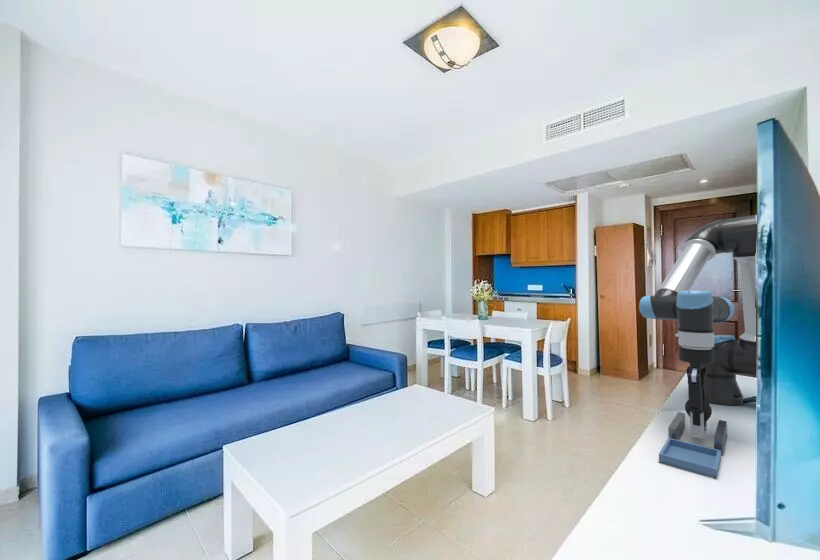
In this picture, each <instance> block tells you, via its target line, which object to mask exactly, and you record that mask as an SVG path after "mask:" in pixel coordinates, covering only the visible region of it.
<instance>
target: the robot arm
mask: <svg viewBox="0 0 820 560" xmlns="http://www.w3.org/2000/svg"><path fill="white" fill-rule="evenodd" d="M756 234H757V214H754V215H753V214H752V215H746V216H740V217H735V218H734V217H733V218H732V217H731V218H726V219H719V220H715V221H713V222H710V223H707V224H705V225H704V226H702V227H700V228H699V229H698V230H696V231H694V232H693V233H692V234H691V235H690V236H689V237H688V238H687V239H686V240H685V241H684V242H683V245H682V246H681V253H680V255H679V256H678V258H677V260H676V261H675V263H674V264H673V266H672V268H671V269H670V271H668V273H667V275H666V277H665V278H664V280H663V282H662V283H661V284H660V286H659V287H658V288H657V290H656V291H655V293H654V295H652V294H651V295H644V296H643V297H641V299H640V301H639V303H638V310H639V313H640V315H641V316H642V317H643V318H646V319H652V320H656V321H658V320H664V321H677V333H676V334H675V337H676V338H678V345H679V347H678V359H679V360H680V361H681V362H683V363H688V364H689V366H687V368H686V377H687V385H688V389H687V390H688V400H689V408H688V409H686V410H687V411H689V412H690V417H689V420H690V423H689V424H690V436H691V437H694V438H699V439H703V440H704V439H705V434H704V413H703V410H702V399H703V400H705V401H706V402H707V403H708V404H709V405H710V404H716V405H722V406H723V405H724V406H741V405H744V403H743V400H745V399H744V395H743V393H742V390H741V388H740V386H739V383H738V382H737V374H738V375H743V376H749V377H754V378H757V377H756V308H755V253H756ZM724 253H726V254H728V253H729V254H731V253H732V259H733V260H736V261H737V262H738V263H739V273H740V287H741V298H742V308H743V309H742V310H743V312H742V313H743V321H744V322H743V323H744V333H742V334H741V335H739V339H738V340H737V339H736V337H735V335H732V334H731V335H730V334H729V335H728V334H717V335H715V332H714V324H716V323H717V324H720V323H723V322H726V321H728V320H730V319H731V318H732V317H733V316H734V314H735V310H736V309H735V305H734V304H733V302H732V301H731V300H729V298H727V297H724V296H719V295H713V293H712V292H711V291H710V290H703V289H702V290H694V289H693V290H691V289H692V287H693V285H694V284H695V282H696V280H697V279H698V277H699V275H700V274H701V272H702V271H703V268H704V267H705V265H706V264H707V263H708V261H711V260H712V259H714V257H715V256H716V255H720V254H724ZM686 410H685V411H686ZM707 422H708V421H707ZM707 422H706V426H705V432H707V431H708V424H707Z"/></svg>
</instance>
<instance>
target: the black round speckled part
mask: <svg viewBox="0 0 820 560" xmlns="http://www.w3.org/2000/svg"><path fill="white" fill-rule="evenodd" d="M708 403H709V402H706V401H705V400H703V399H702V410H703V413H704V435H706V431H705V426H706V422H708V421H709V419H710V418H711V416H712V413H713V411H712V407H711V406H710V403H709V404H708ZM688 408H689V399H687V400H686V402H685V403H684V409H685V412H686V414H687V415H688V417H689V418H690V412H689V411H687V410H686V409H688Z"/></svg>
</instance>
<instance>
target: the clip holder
mask: <svg viewBox="0 0 820 560" xmlns="http://www.w3.org/2000/svg"><path fill="white" fill-rule="evenodd" d="M685 429H686V413H685V412H681V411H677V413H676V414H675V416H674V418H673V419H672V421H671V422H670V424H669V425H668V429H667V430H668V431H667V432H668V438H672V439H676V440H680V438H681V436H682V435H683V432H684V431H685ZM714 432H715V433H714V436H713V447H714V448H713V449H717V450H721V457H724V454H725V449H726V444H727V441H728V440H727V439H728V422H727V421H726V420H722V419H719V420H718V422H717V426H716V429H715V431H714Z"/></svg>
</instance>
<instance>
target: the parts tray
mask: <svg viewBox="0 0 820 560" xmlns="http://www.w3.org/2000/svg"><path fill="white" fill-rule="evenodd" d="M721 462H722V456H721V450H717V449H714V448H712V447H708V446H705V445H699V444H695V443H692V442H689V441H688V442H687V441H683V440H680V439H679V440H676V439H672V438H669V437H668V438H667V439H666V441H665V443H664V444H663V446H662V447H661V450H660V451H659V453H658V463H659V464H664V465H667V466H671V467H674V468H677V469H681V470H684V471H688V472H690V473H695V474H698V475H701V476H705V477H708V476H709V478H711V477H713V478H712V479H715V478H717V479H718V476H719V475H718V474H719V471H720V467H721Z"/></svg>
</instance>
